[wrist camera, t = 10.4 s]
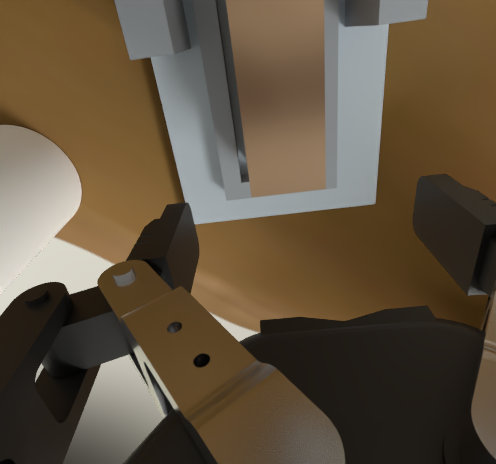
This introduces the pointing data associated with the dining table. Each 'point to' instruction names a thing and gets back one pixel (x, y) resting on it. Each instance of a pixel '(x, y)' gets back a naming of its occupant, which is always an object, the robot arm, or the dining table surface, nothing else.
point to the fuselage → (281, 92)
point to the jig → (228, 109)
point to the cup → (32, 197)
